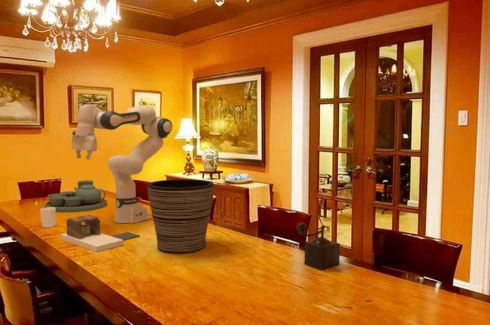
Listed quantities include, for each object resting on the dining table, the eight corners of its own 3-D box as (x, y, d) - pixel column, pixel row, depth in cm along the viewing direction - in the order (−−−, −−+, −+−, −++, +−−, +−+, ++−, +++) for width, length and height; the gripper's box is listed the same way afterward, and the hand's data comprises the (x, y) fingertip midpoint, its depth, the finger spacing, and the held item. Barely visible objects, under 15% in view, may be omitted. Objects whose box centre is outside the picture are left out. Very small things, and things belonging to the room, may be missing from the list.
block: (85, 238, 205) (85, 224, 205) (89, 239, 203) (89, 225, 202) (77, 239, 202) (77, 226, 202) (82, 241, 200) (81, 227, 199)
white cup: (50, 228, 225) (49, 210, 224) (37, 227, 227) (36, 209, 226) (59, 224, 233) (58, 207, 232) (47, 224, 234) (46, 206, 233)
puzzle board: (87, 233, 214) (87, 229, 213) (123, 245, 193) (123, 239, 193) (61, 239, 203) (60, 234, 202) (96, 252, 183) (96, 246, 182)
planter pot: (150, 259, 173) (149, 189, 170) (147, 240, 202) (146, 180, 199) (219, 253, 181) (219, 186, 178) (207, 236, 210) (207, 178, 207)
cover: (87, 230, 210) (87, 214, 210) (100, 233, 203) (100, 217, 202) (66, 234, 202) (66, 218, 201) (79, 238, 194) (79, 221, 193)
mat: (127, 232, 216) (127, 232, 216) (140, 236, 209) (140, 235, 209) (108, 237, 207) (108, 236, 207) (121, 241, 200) (121, 240, 200)
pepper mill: (319, 258, 175) (320, 217, 173) (340, 265, 166) (341, 222, 165) (293, 266, 165) (294, 222, 164) (313, 274, 157) (314, 228, 155)
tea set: (45, 204, 295) (44, 181, 294) (103, 200, 312) (102, 178, 311) (44, 215, 259) (43, 189, 258) (109, 210, 276) (109, 185, 275)
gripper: (101, 134, 215) (99, 160, 215) (81, 133, 228) (79, 158, 228) (90, 133, 210) (87, 159, 210) (70, 132, 223) (68, 157, 223)
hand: (83, 158), depth 219 cm, fingers open, 8 cm apart
